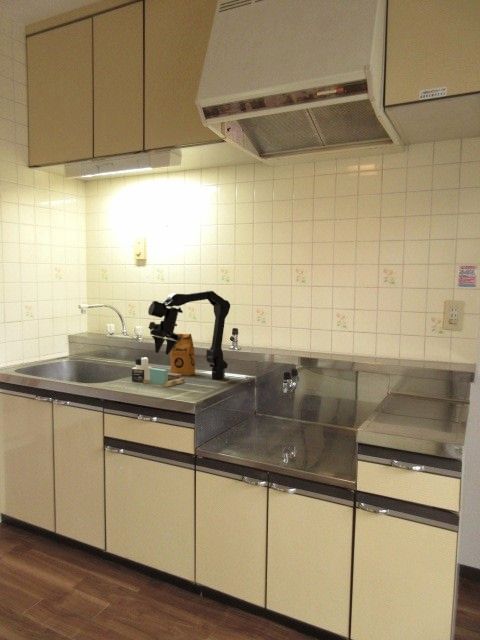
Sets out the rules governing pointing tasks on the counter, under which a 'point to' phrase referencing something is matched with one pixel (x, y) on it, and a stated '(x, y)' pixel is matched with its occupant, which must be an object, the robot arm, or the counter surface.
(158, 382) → the teal rectangular block
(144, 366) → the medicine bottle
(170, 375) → the offcut top
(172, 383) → the wooden tray
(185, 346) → the coffee package
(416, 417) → the counter surface
